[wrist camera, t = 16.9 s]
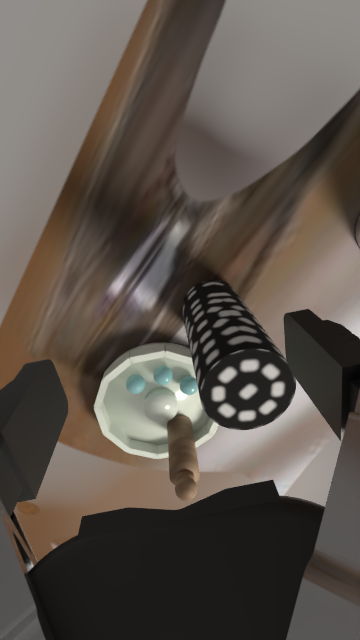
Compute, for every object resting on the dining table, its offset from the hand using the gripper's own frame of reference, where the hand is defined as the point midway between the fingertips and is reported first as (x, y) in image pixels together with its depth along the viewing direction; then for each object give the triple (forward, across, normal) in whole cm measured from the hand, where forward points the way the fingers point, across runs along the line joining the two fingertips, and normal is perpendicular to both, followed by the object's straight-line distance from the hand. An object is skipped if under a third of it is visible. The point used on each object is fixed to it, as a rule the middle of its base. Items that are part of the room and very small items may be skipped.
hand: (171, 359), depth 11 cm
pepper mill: (+32, +3, +30) cm, 44 cm away
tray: (+33, +5, +25) cm, 42 cm away
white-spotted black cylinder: (+33, -5, +12) cm, 36 cm away
